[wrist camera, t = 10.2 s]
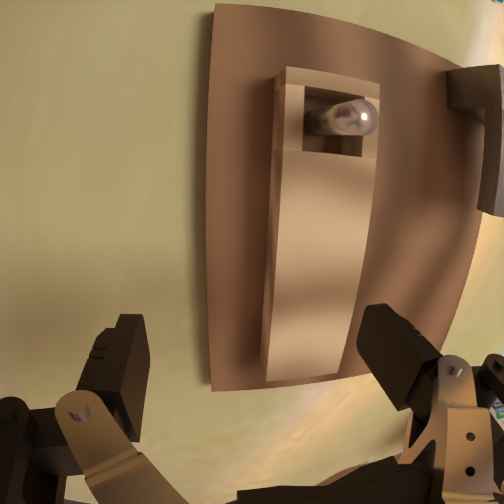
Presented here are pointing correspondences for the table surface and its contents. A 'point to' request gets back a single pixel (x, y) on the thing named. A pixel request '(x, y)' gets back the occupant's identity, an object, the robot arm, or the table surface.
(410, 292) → the wooden latch panel
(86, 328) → the table surface
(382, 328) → the robot arm
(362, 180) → the birch link
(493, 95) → the bracket
